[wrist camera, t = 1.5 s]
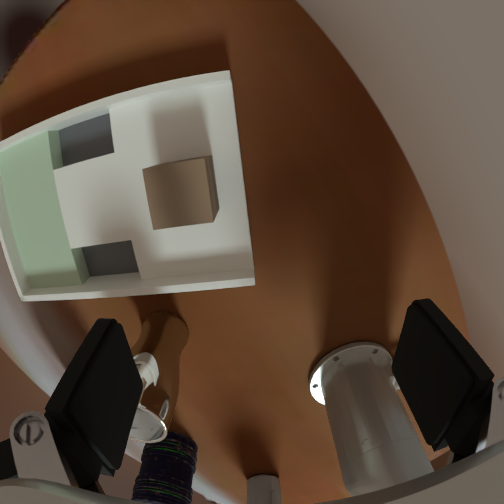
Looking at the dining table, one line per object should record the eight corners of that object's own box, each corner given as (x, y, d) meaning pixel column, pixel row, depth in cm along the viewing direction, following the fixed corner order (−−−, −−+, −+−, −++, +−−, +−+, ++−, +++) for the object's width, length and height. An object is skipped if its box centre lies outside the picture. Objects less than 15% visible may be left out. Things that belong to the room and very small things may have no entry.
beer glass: (164, 297, 34) (123, 389, 20) (204, 336, 36) (185, 434, 22) (129, 325, 36) (84, 411, 22) (167, 359, 38) (139, 449, 24)
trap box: (232, 80, 26) (229, 70, 22) (254, 265, 33) (255, 285, 29) (5, 147, 27) (-17, 151, 22) (38, 286, 34) (21, 301, 29)
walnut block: (212, 155, 26) (204, 158, 21) (219, 208, 28) (213, 222, 23) (159, 163, 26) (142, 169, 22) (168, 214, 28) (153, 230, 23)
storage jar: (155, 454, 48) (142, 514, 34) (139, 428, 44) (120, 495, 30) (203, 457, 47) (196, 521, 34) (191, 431, 44) (181, 504, 30)
